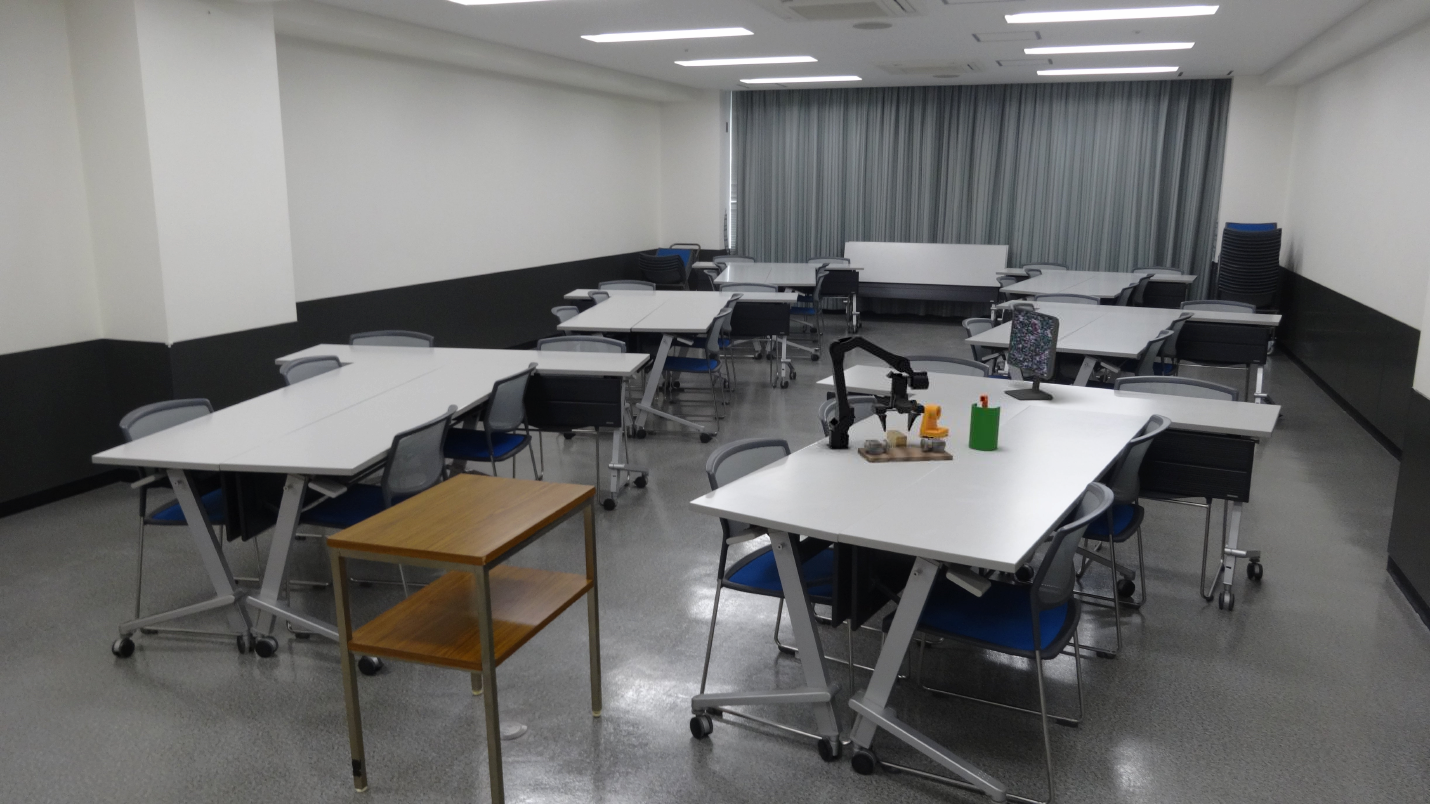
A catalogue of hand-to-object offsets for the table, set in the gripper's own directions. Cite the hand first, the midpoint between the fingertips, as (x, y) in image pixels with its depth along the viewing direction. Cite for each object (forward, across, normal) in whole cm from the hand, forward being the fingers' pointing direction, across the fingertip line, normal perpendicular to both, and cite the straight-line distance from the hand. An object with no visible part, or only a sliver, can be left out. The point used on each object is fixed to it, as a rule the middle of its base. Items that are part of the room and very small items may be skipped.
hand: (896, 431), depth 348 cm
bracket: (+6, +20, +13) cm, 25 cm away
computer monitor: (+5, +94, +82) cm, 125 cm away
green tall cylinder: (+6, +31, -6) cm, 32 cm away
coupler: (+6, 0, 0) cm, 6 cm away
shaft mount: (+5, -2, -14) cm, 15 cm away
